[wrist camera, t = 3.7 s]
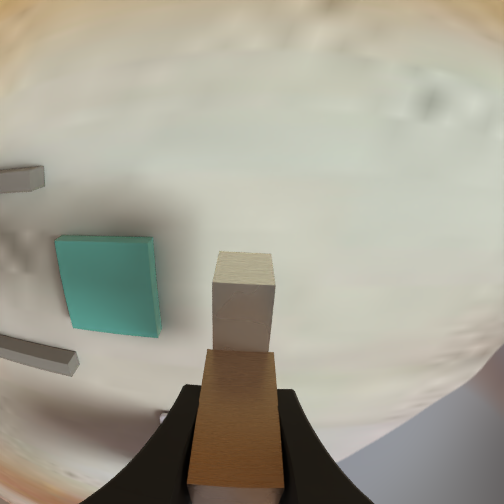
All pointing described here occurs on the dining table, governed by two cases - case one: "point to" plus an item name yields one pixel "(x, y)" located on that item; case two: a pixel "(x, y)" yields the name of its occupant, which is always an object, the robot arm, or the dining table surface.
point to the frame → (20, 349)
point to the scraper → (239, 391)
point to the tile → (110, 283)
